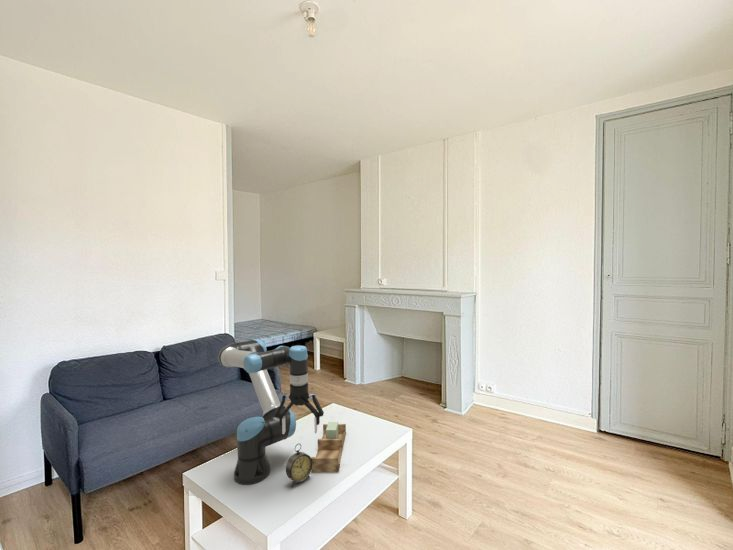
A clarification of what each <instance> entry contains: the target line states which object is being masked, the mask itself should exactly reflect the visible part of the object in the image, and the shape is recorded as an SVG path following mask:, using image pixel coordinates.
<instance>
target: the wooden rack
mask: <svg viewBox="0 0 733 550" xmlns="http://www.w3.org/2000/svg"><path fill="white" fill-rule="evenodd" d="M327 425H328V423H323V424H322V432H323V434H322V438H317V451H316V455H315V456H310V457H311V459H312V469H311V472H310V473H339V472H340V466H341V459H342V453H343V450H344V444H345V441H346V434H347V429H346V427H347V426H346V425H347V424H346V423H338V439H326V428H327Z"/></svg>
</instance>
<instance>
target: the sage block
mask: <svg viewBox="0 0 733 550" xmlns="http://www.w3.org/2000/svg"><path fill="white" fill-rule="evenodd" d="M327 424H328V425H327V428H326V439H338V424H339V421H328V423H327Z"/></svg>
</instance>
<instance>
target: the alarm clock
mask: <svg viewBox="0 0 733 550" xmlns="http://www.w3.org/2000/svg"><path fill="white" fill-rule="evenodd" d="M298 445H299V446H300V448H299V449H297V450H296V448H297V446H298ZM301 449H302V445H301V443H297V444H296V445H295V447H294V451H295V453H293V454H291V456H290V457H289V459H288V460H287V463H286V465H285V474H286V476H287V478H288V479H290V480H292V484H291V487H292V488H293V486H294V485H295V483H301V482H303V481H305V480H306V479H307V478H311V477H310V474H311V473H312V472H311V469H312V459H311V457H312V456H310V455H309V454H308V453H306V452H303V451H301Z"/></svg>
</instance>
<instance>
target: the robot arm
mask: <svg viewBox="0 0 733 550" xmlns="http://www.w3.org/2000/svg"><path fill="white" fill-rule="evenodd" d="M308 357H309V355H308V348H307V347H306V346H305V345H292V346H291V347H289V346H286V345H279V346H278V347H276V348H274V349H272V350H267V347H266V344H265V343H264V342H263V341H262V340H261V339H257V338H256V339H255V338H254V339H249V340H244V341H238V342H232V343H229V344H226V345H225V346H223V347H222V348H221V349H220V350H219V352H218V355H217V361H218V363H219V364H220V365H221V366H222V367H226V368H234V367H237V368H241V369H243V370H244V371H245V372H246V373H248V375H249V377H250V380H251V383H252V386H253V388H254V391H255V394H256V397H257V399H258V401H259V405H260V406H261V409H262V416H252V417H248V418H246V419H245V420H243V421H242V422H240V423H239V425H238V426H237V429H236V440H237V441H236V444H237V445H236V447H237V462H236V464H235V469H234V471H233V479H234V481H235V483H237V482H238V484H241V485H253V484H257V483H259V482H261V481H263V480H265V479H266V478H267V477H268V476H269V475H270V474H271V473H270V472H271V464H270V462H269V460H268V456H267V454H266V448H267V447H268V446H271V445H274V444H276V443H278V442H281V441H284V440H287V439H289V438H291V437H292V436H293V435H294V434H295V432H296V429H297V419H296V415H295V414H294V412H293V410H291V408H292V407H293V406H296V407H297V406H298V407H299V406H301V407H302V406H305V407H307V409H308V410H309V411H310V412H311V413H312V414H313V415H314V421H313V422H314V434H317V433H318V426H319V425H320V422H321V421H320V418H321V417H323V416H324V413H325V412H324V410H323V408H322V406H321V404H320V402H319V401H318V399H317V394H316V393H315V392H313V393H312V394H310V393H309V373H308V368H309V367H308V366H309V364H308V363H309V361H308V360H309V359H308ZM284 366H287V367H289V383H290V384H289V394H287V393H284V394H283V395H282V399H281V402H280V399H279V397H278V395H277V391H276V390H275V386H274V383H273V382H272V379H271V376H270V375H269V372H268V370H270V369H275V368H279V367H284ZM288 399H289V400H290V402H289V404H288V405H287V406H286V405H284V404H285V403H286V401H288ZM309 399H310V400H312V402H313V405H312V404H311V402H310V401H309ZM314 406H315V407H314Z"/></svg>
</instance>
